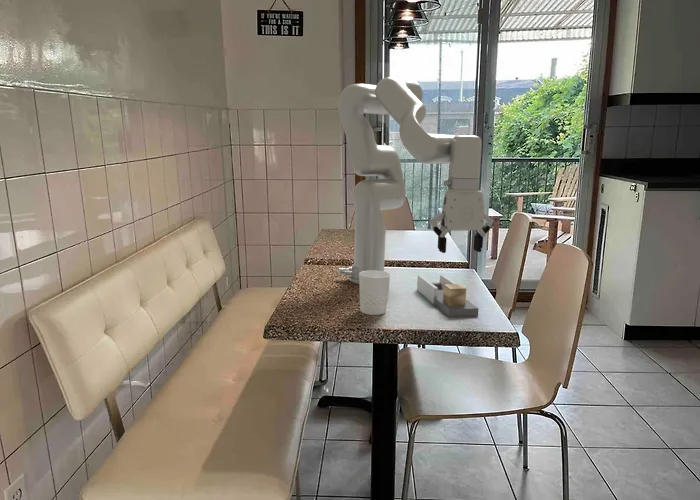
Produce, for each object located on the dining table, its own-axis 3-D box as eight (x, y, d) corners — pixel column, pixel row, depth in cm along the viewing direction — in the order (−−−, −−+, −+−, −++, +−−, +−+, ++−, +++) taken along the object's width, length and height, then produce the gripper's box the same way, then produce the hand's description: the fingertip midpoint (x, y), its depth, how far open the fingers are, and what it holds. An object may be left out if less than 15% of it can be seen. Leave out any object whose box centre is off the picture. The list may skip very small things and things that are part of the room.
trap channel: (448, 317, 136) (449, 300, 136) (416, 289, 160) (417, 275, 159) (477, 315, 138) (479, 299, 137) (442, 289, 162) (443, 274, 161)
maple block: (448, 305, 139) (449, 288, 138) (443, 300, 144) (444, 284, 143) (465, 305, 140) (466, 288, 139) (459, 299, 144) (460, 283, 144)
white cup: (394, 311, 140) (396, 274, 138) (375, 318, 134) (376, 279, 132) (371, 304, 145) (372, 268, 143) (351, 311, 139) (352, 273, 137)
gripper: (436, 186, 131) (433, 255, 134) (502, 186, 134) (497, 253, 137) (426, 184, 138) (423, 249, 141) (488, 184, 141) (484, 248, 145)
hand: (459, 251), depth 139 cm, fingers open, 9 cm apart
